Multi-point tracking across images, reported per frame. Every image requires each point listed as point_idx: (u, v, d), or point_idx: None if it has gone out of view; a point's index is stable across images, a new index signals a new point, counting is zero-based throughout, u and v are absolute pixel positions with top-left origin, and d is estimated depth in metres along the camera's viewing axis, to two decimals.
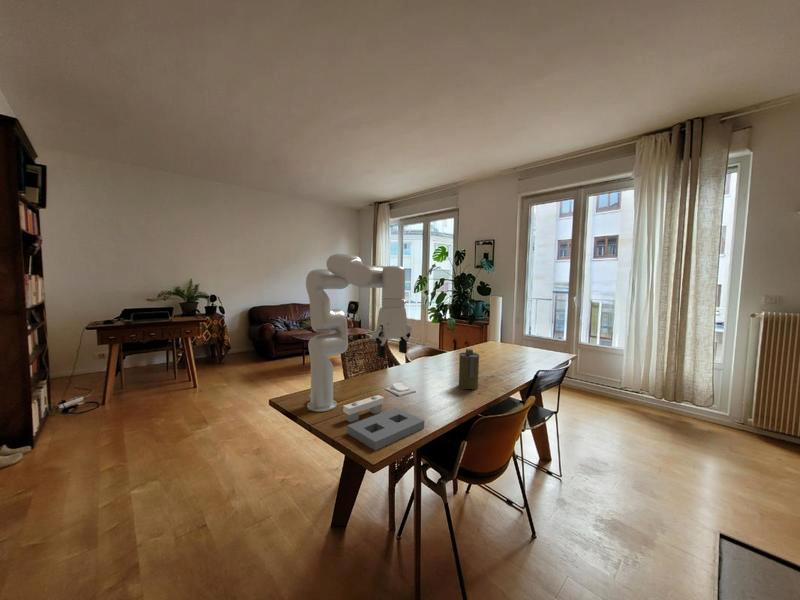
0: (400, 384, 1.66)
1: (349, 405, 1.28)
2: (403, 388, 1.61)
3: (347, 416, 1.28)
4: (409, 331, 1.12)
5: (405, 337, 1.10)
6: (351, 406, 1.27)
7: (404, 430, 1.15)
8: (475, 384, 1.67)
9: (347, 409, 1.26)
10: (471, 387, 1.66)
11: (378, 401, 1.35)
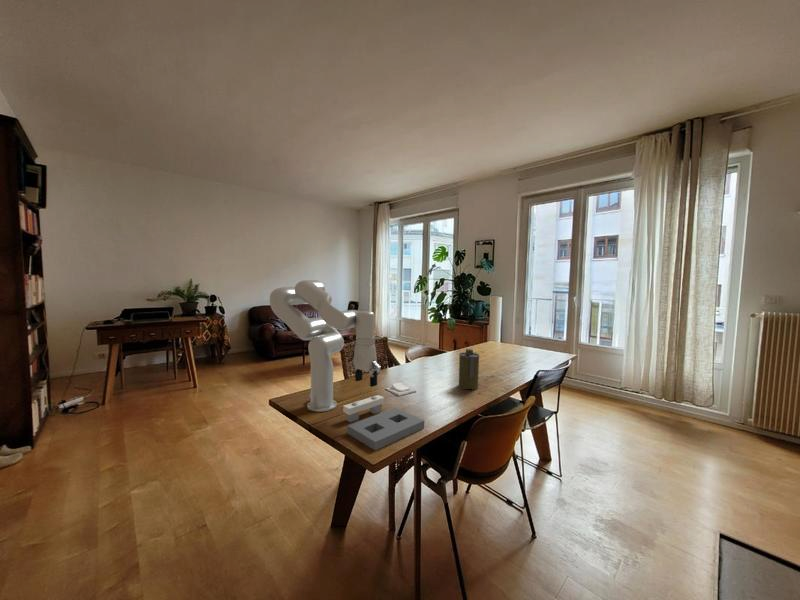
0: (400, 384, 1.66)
1: (349, 405, 1.28)
2: (403, 388, 1.61)
3: (347, 416, 1.28)
4: None
5: None
6: (351, 406, 1.27)
7: (404, 430, 1.15)
8: (475, 384, 1.67)
9: (347, 409, 1.26)
10: (471, 387, 1.66)
11: (378, 401, 1.35)
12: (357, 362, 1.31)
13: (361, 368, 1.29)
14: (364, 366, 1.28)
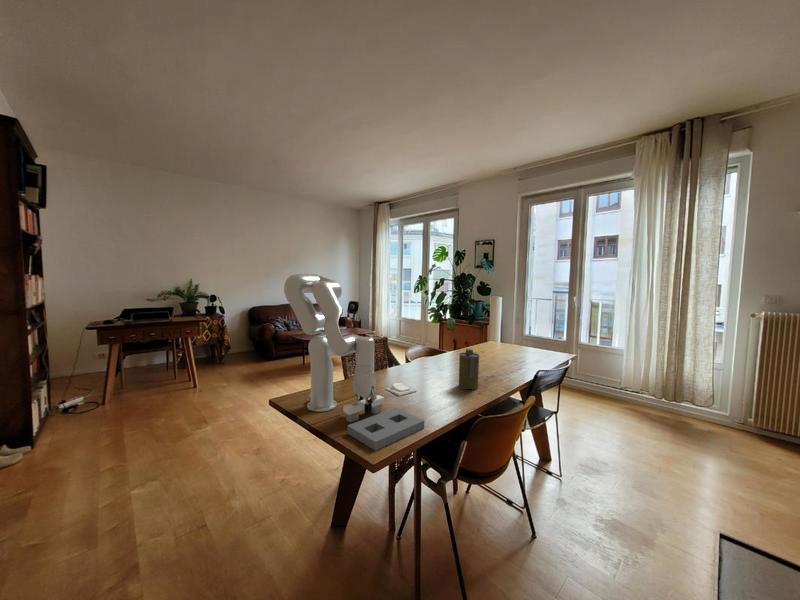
0: (400, 384, 1.66)
1: (349, 405, 1.28)
2: (403, 388, 1.61)
3: (347, 416, 1.28)
4: None
5: None
6: (351, 406, 1.27)
7: (404, 430, 1.15)
8: (475, 384, 1.67)
9: (347, 409, 1.26)
10: (471, 387, 1.66)
11: (378, 401, 1.35)
12: (356, 387, 1.32)
13: (360, 394, 1.30)
14: (363, 392, 1.29)
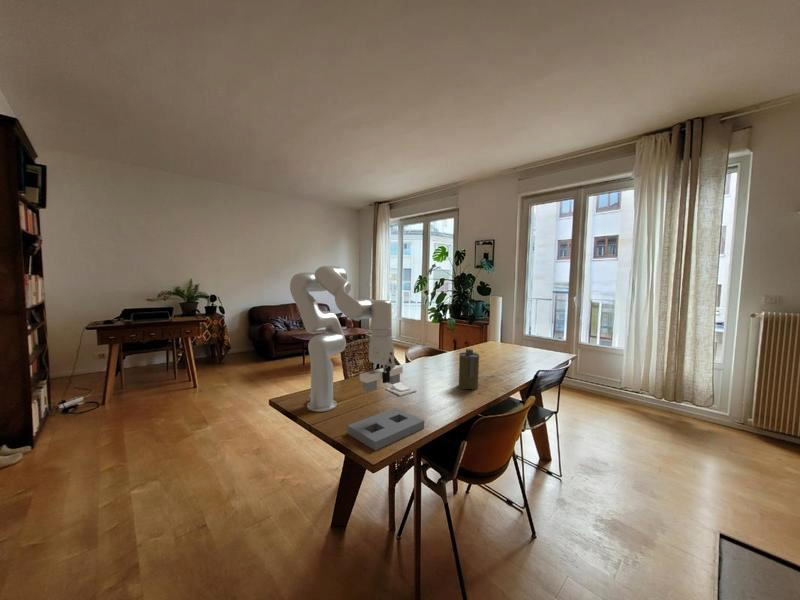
0: (400, 384, 1.66)
1: (366, 373, 1.17)
2: (404, 388, 1.61)
3: (364, 385, 1.17)
4: None
5: None
6: (368, 374, 1.17)
7: (404, 430, 1.15)
8: (475, 384, 1.67)
9: (364, 376, 1.15)
10: (471, 387, 1.66)
11: (396, 370, 1.25)
12: (372, 355, 1.21)
13: (377, 361, 1.19)
14: (381, 359, 1.18)
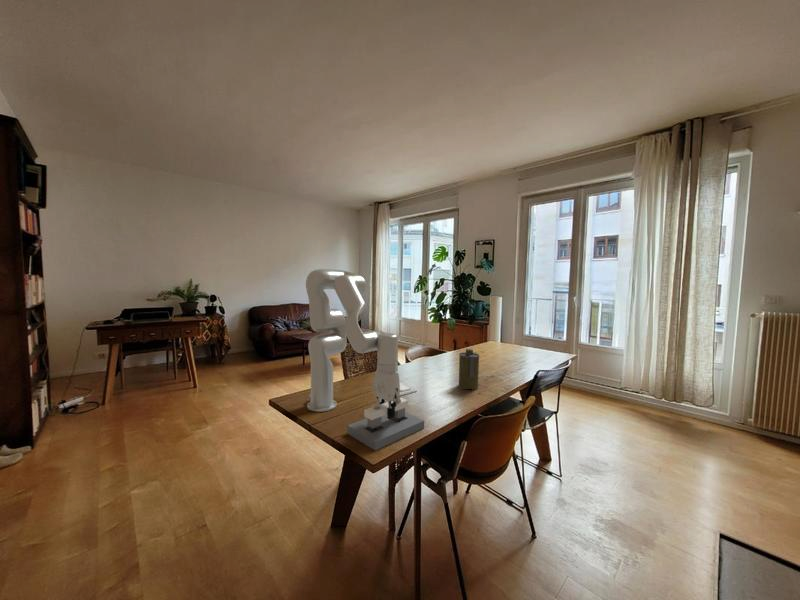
0: (400, 384, 1.66)
1: (370, 409, 1.15)
2: (404, 388, 1.62)
3: (369, 421, 1.15)
4: None
5: None
6: (373, 410, 1.14)
7: (404, 430, 1.15)
8: (475, 384, 1.67)
9: (369, 413, 1.13)
10: (471, 387, 1.66)
11: (402, 404, 1.22)
12: (378, 389, 1.19)
13: (382, 397, 1.17)
14: (386, 395, 1.15)
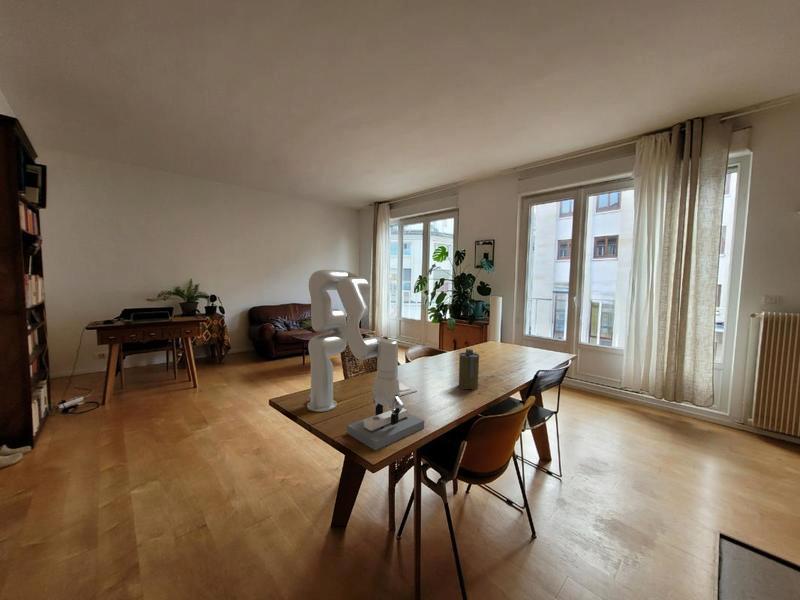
0: (401, 384, 1.66)
1: (370, 420, 1.15)
2: (404, 388, 1.62)
3: None
4: None
5: None
6: (372, 421, 1.15)
7: (404, 430, 1.15)
8: (475, 384, 1.67)
9: (368, 424, 1.13)
10: (471, 387, 1.66)
11: (401, 414, 1.23)
12: (377, 396, 1.19)
13: (382, 403, 1.17)
14: (386, 401, 1.16)
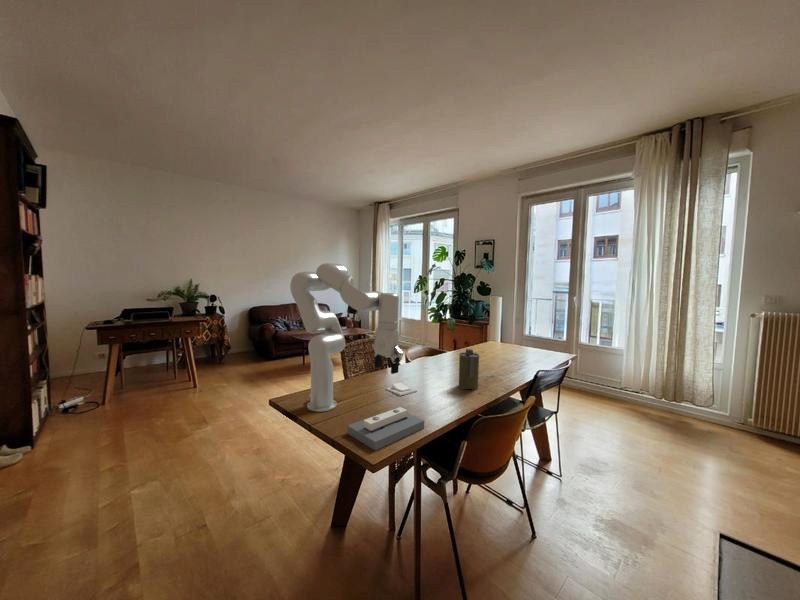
0: (401, 384, 1.66)
1: (370, 420, 1.15)
2: (404, 388, 1.62)
3: None
4: None
5: None
6: (372, 421, 1.15)
7: (404, 430, 1.15)
8: (475, 384, 1.67)
9: (368, 424, 1.13)
10: (471, 387, 1.66)
11: (401, 414, 1.23)
12: (378, 347, 1.23)
13: (382, 353, 1.21)
14: (385, 351, 1.19)
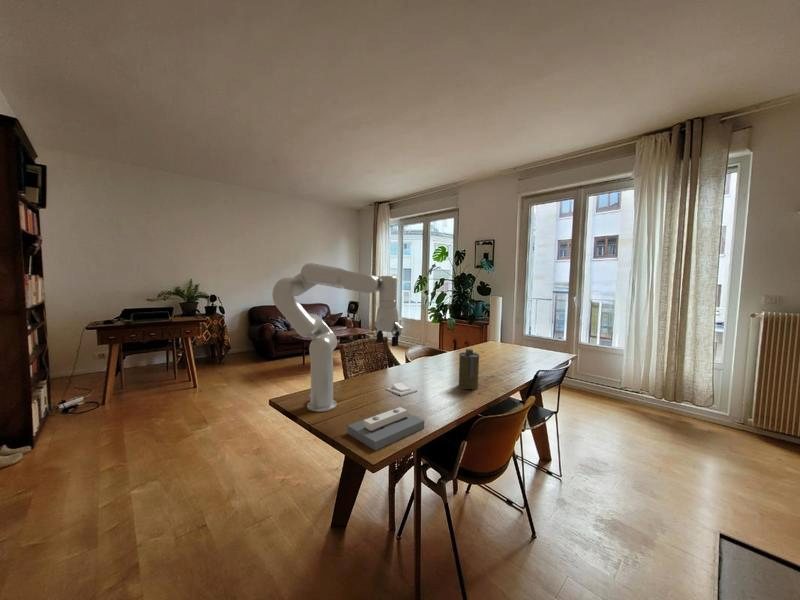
0: (401, 384, 1.66)
1: (370, 420, 1.15)
2: (404, 388, 1.62)
3: None
4: None
5: None
6: (372, 421, 1.15)
7: (404, 430, 1.15)
8: (475, 384, 1.67)
9: (368, 424, 1.13)
10: (471, 387, 1.66)
11: (401, 414, 1.23)
12: (379, 324, 1.38)
13: (383, 329, 1.37)
14: (386, 327, 1.35)
